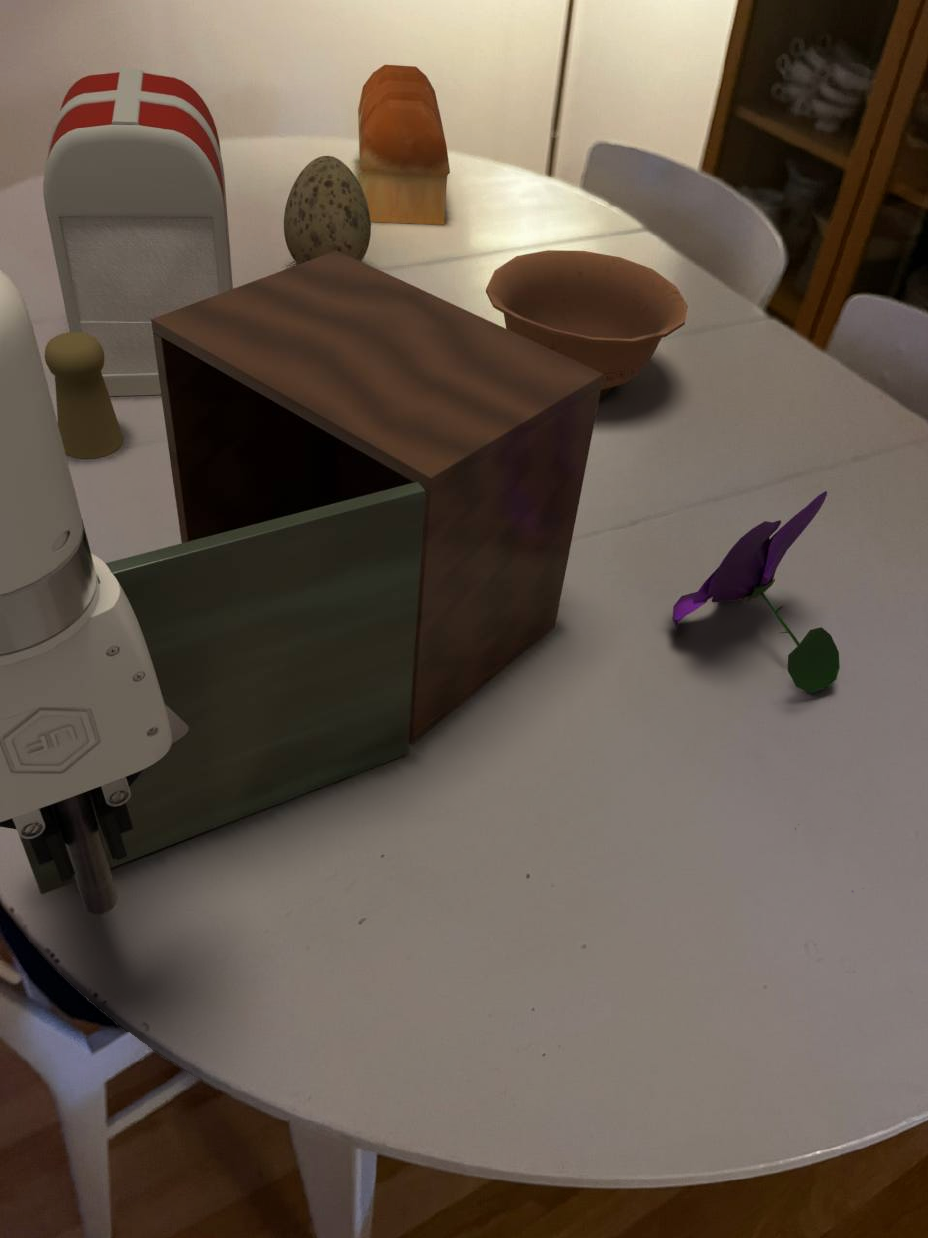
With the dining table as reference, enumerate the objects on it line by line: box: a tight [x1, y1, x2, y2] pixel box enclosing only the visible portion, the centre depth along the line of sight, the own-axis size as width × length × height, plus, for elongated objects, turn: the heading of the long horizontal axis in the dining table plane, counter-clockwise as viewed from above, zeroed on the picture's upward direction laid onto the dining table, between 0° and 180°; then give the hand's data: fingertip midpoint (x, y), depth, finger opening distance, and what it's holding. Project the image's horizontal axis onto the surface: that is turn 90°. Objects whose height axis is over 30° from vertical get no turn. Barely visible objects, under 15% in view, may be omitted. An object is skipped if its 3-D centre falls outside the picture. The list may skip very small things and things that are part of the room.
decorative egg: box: [283, 155, 372, 265], centre depth 127 cm, size 11×11×15 cm
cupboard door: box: [19, 482, 425, 916], centre depth 60 cm, size 8×26×24 cm, turn 120°
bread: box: [357, 64, 451, 226], centre depth 150 cm, size 25×12×15 cm, turn 5°
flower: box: [671, 490, 841, 694], centre depth 82 cm, size 15×15×14 cm
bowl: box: [485, 249, 689, 398], centre depth 114 cm, size 22×22×11 cm
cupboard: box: [151, 251, 604, 745], centre depth 78 cm, size 18×26×24 cm
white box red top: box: [42, 68, 234, 397], centre depth 105 cm, size 16×18×27 cm
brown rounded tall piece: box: [44, 331, 124, 459], centre depth 97 cm, size 6×6×11 cm
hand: (87, 847), depth 53 cm, fingers closed on cupboard door, 2 cm apart
